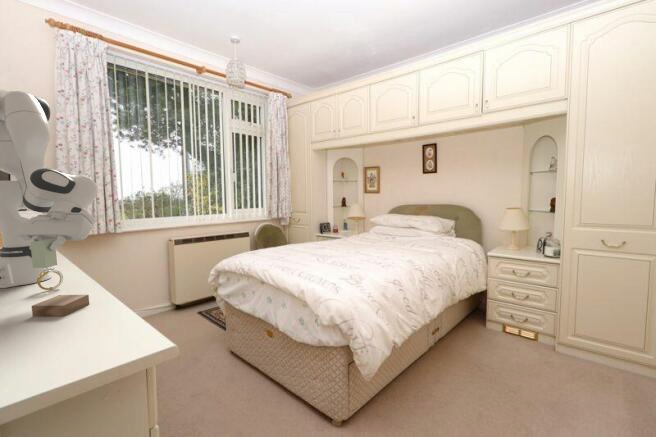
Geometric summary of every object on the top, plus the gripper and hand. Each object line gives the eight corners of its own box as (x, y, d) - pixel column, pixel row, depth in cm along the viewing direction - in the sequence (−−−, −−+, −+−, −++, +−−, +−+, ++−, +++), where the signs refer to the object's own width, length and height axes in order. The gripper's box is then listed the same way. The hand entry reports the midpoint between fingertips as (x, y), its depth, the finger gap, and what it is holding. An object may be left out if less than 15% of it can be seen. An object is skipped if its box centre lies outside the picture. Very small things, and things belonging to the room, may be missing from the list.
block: (32, 268, 96) (30, 242, 95) (44, 264, 100) (42, 240, 99) (45, 268, 96) (43, 242, 95) (57, 264, 100) (54, 240, 99)
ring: (38, 293, 107) (36, 270, 107) (37, 291, 109) (34, 269, 109) (65, 288, 113) (62, 266, 112) (62, 286, 115) (60, 265, 114)
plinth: (32, 316, 88) (31, 305, 87) (60, 304, 97) (59, 295, 96) (64, 315, 88) (63, 305, 87) (89, 304, 97) (88, 294, 96)
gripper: (27, 209, 103) (-1, 243, 95) (89, 209, 103) (67, 243, 95) (41, 221, 108) (16, 255, 99) (100, 221, 108) (80, 255, 99)
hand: (41, 249), depth 97 cm, fingers closed on block, 4 cm apart
